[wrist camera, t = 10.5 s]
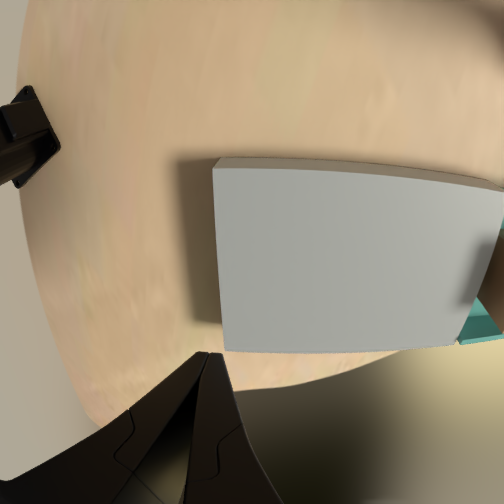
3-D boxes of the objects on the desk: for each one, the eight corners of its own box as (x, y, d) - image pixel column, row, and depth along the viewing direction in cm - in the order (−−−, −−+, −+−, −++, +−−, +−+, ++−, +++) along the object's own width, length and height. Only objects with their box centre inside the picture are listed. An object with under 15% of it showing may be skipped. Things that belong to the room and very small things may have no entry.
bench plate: (229, 325, 26) (224, 350, 23) (220, 157, 19) (212, 168, 17) (442, 323, 25) (453, 344, 22) (486, 180, 18) (509, 193, 16)
